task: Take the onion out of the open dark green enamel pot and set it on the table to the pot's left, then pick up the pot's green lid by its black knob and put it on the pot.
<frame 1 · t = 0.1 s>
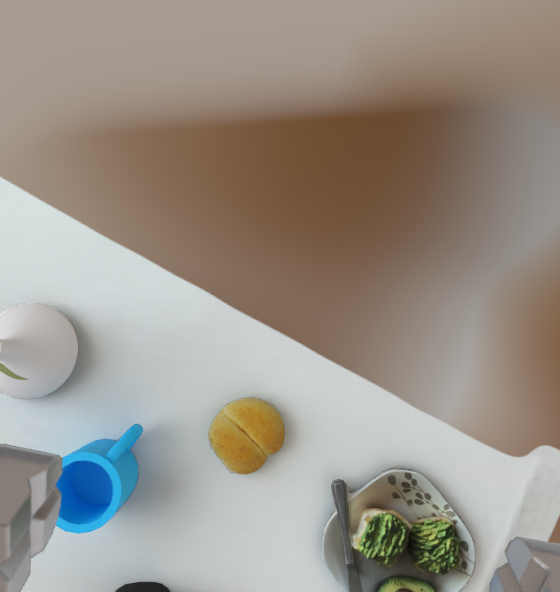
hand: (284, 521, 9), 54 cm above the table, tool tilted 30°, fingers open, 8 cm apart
salad plate: (394, 549, 62), on the table
bread roll: (246, 433, 62), on the table
mug: (114, 460, 61), on the table
flower in vase: (41, 354, 62), on the table
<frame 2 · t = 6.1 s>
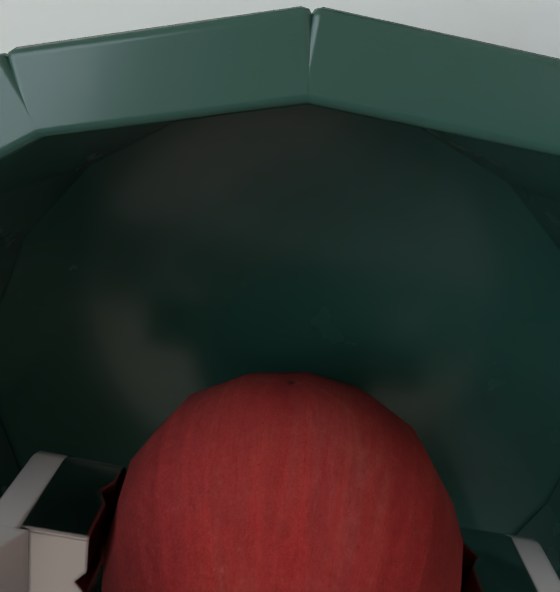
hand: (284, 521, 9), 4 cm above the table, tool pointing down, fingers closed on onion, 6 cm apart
onion: (286, 411, 12), resting on pot, touching gripper
pot: (286, 406, 13), on the table
when the fingers open (3 cm above the table, at t = 13.8 s): onion stays where it is, on the table.
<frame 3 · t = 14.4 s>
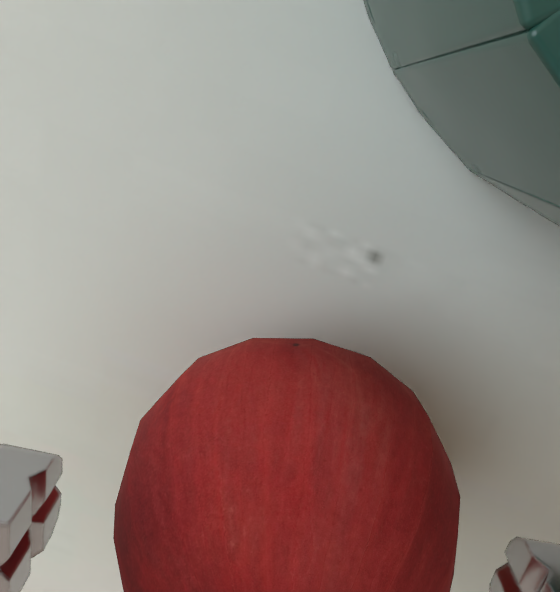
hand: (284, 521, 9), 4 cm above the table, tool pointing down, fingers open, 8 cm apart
onion: (288, 384, 13), on the table
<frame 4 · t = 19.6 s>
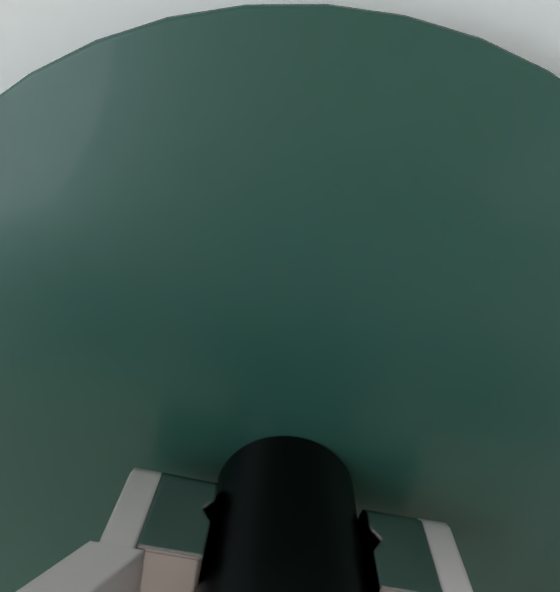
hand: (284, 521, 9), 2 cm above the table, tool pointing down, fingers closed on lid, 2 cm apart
lid: (285, 469, 10), point 1 cm above the table, touching gripper
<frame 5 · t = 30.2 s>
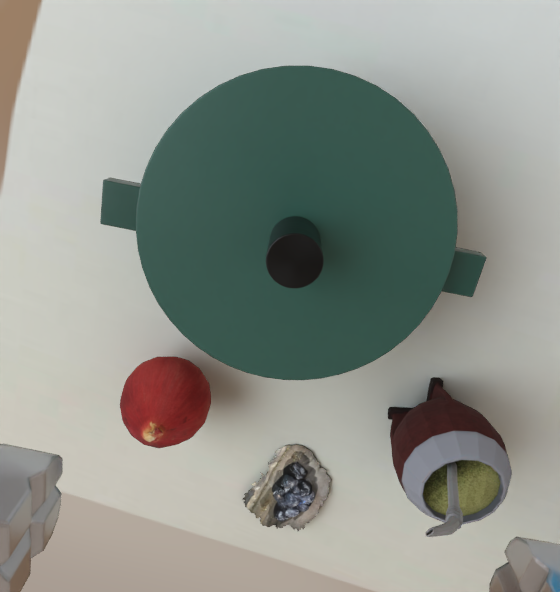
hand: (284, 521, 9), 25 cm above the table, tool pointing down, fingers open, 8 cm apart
mate gourd: (423, 409, 38), on the table
lid: (295, 238, 26), point 6 cm above the table, touching pot
blueberries: (287, 482, 40), on the table
onion: (179, 371, 37), on the table
pot: (294, 217, 32), on the table
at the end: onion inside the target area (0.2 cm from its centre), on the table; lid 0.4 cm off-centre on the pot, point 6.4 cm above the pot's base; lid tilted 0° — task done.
